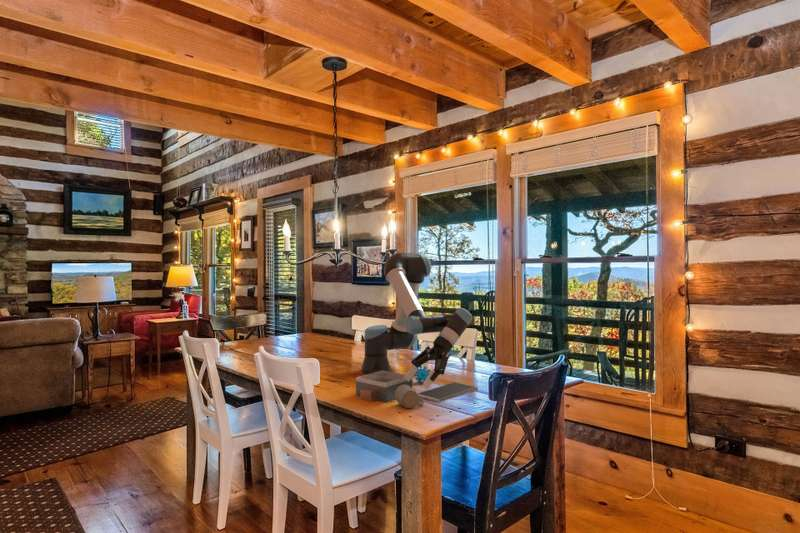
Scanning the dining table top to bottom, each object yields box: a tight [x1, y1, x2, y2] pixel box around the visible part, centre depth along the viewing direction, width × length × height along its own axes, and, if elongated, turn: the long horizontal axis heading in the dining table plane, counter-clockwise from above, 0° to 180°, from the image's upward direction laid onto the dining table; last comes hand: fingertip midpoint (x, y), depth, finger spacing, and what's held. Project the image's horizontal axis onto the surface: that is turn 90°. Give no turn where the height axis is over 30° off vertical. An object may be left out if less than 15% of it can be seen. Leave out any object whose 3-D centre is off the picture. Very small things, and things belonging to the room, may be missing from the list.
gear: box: [413, 365, 431, 384], centre depth 221 cm, size 11×6×10 cm
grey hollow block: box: [355, 370, 413, 403], centre depth 199 cm, size 17×20×8 cm
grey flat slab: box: [416, 381, 479, 403], centre depth 201 cm, size 13×27×2 cm, turn 134°
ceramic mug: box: [394, 384, 425, 409], centre depth 183 cm, size 11×8×8 cm
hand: (415, 383), depth 184 cm, fingers open, 13 cm apart
